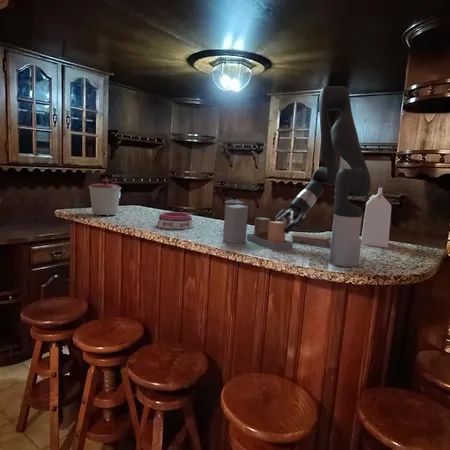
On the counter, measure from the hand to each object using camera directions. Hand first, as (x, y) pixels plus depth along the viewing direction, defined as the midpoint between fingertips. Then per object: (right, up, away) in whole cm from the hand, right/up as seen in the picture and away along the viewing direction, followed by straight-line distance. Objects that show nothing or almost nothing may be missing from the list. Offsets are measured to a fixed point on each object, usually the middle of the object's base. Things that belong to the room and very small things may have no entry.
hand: (278, 230), depth 153 cm
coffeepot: (-18, -1, +32) cm, 37 cm away
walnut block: (-6, -5, +9) cm, 12 cm away
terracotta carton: (-1, -7, 0) cm, 7 cm away
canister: (-92, +8, +64) cm, 112 cm away
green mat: (-11, -7, -3) cm, 13 cm away
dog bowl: (-48, +1, +38) cm, 61 cm away
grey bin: (-4, -6, +5) cm, 9 cm away
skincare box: (-18, -5, +7) cm, 20 cm away
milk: (+48, -7, +22) cm, 53 cm away
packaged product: (+15, -7, +11) cm, 20 cm away
